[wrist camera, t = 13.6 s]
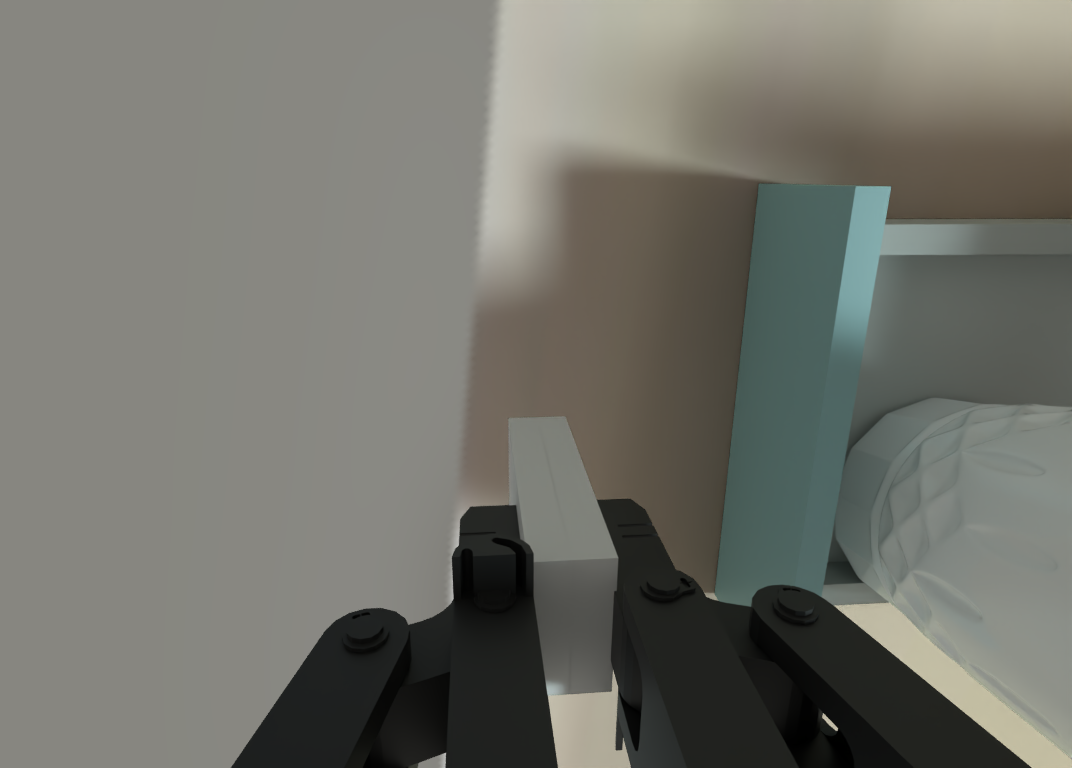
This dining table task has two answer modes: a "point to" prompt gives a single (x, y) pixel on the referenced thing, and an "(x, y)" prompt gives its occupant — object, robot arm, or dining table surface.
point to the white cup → (973, 542)
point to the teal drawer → (871, 358)
